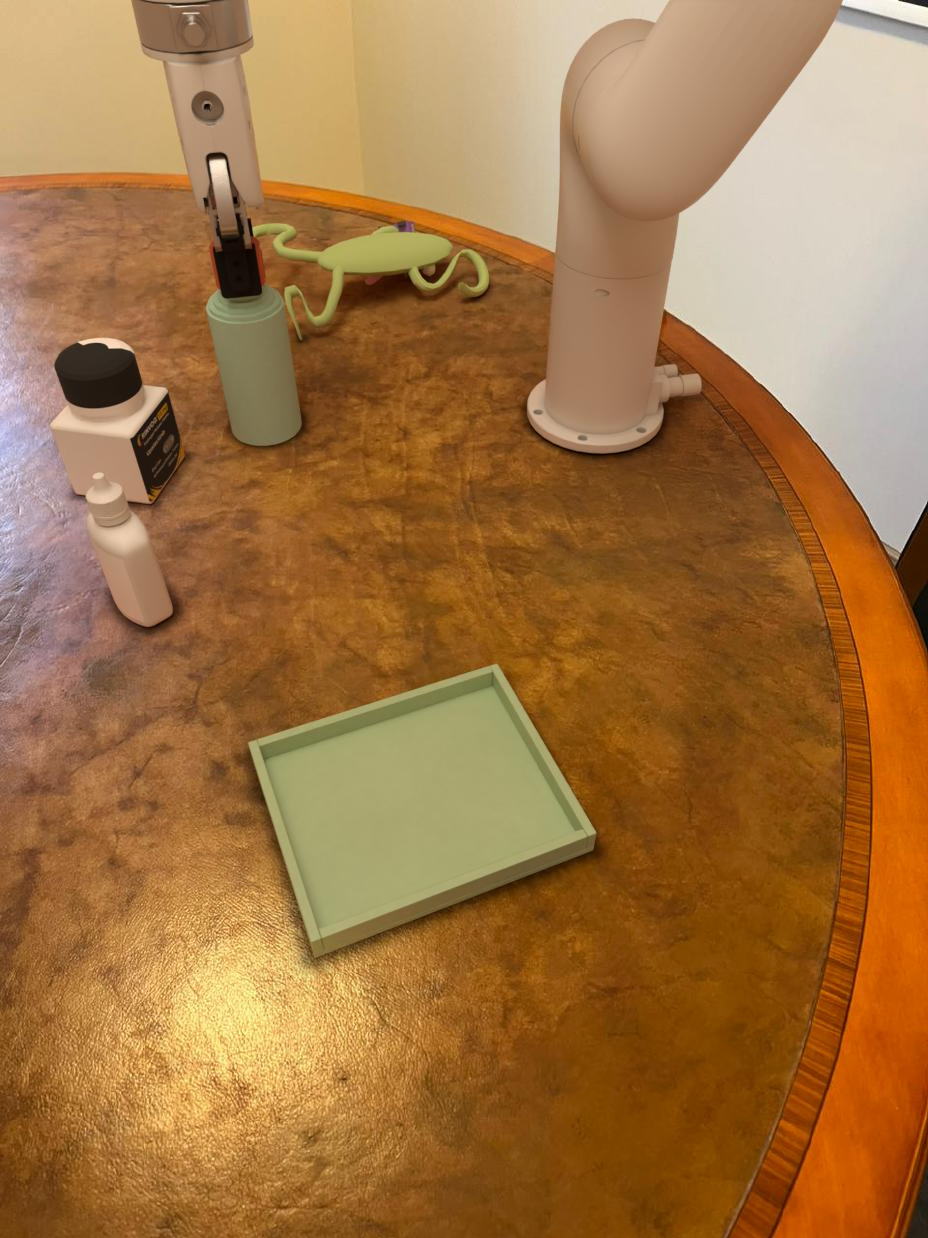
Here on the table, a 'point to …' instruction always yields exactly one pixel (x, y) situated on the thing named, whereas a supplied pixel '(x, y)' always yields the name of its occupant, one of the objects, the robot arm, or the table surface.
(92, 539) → the eye dropper bottle
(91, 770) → the table surface
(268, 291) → the bottle
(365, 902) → the tray
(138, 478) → the medicine bottle
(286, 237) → the figurine
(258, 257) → the cap
